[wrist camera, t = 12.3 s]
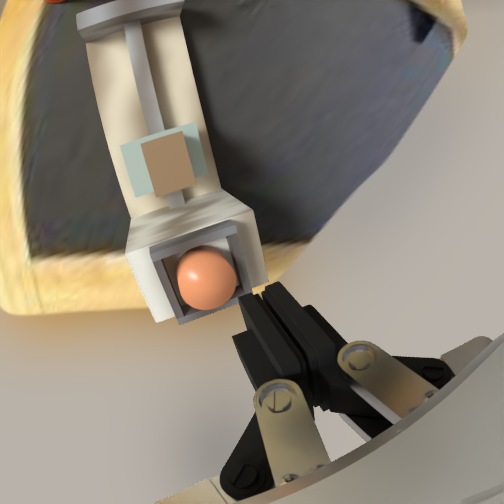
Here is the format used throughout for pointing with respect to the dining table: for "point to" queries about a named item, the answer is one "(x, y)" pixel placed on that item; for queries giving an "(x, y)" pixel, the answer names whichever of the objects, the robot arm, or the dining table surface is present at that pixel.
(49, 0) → the paper cup
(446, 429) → the robot arm
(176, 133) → the carriage
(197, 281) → the button
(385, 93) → the dining table surface
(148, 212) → the track
